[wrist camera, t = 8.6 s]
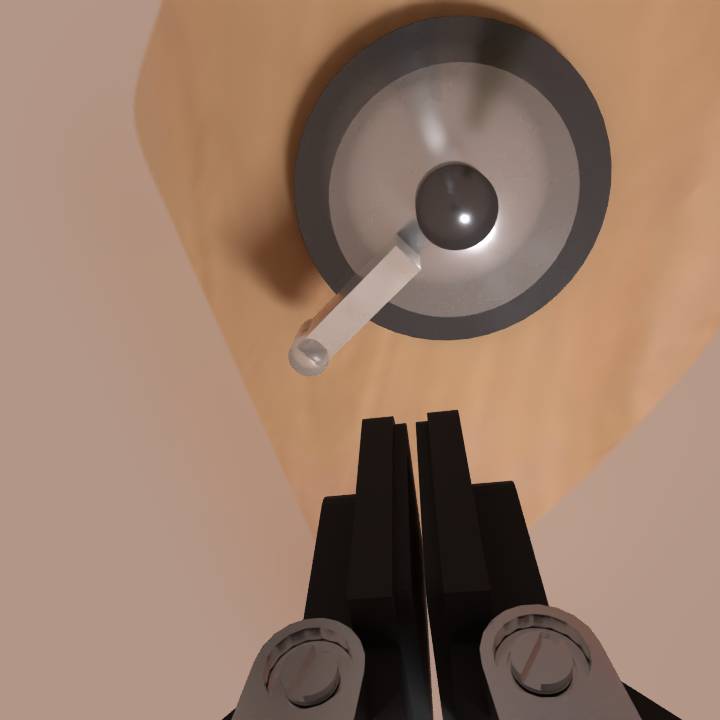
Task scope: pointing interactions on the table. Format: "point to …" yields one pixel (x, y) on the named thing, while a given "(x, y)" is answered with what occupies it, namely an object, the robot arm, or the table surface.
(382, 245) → the dial
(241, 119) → the table surface
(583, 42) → the table surface
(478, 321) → the stand
